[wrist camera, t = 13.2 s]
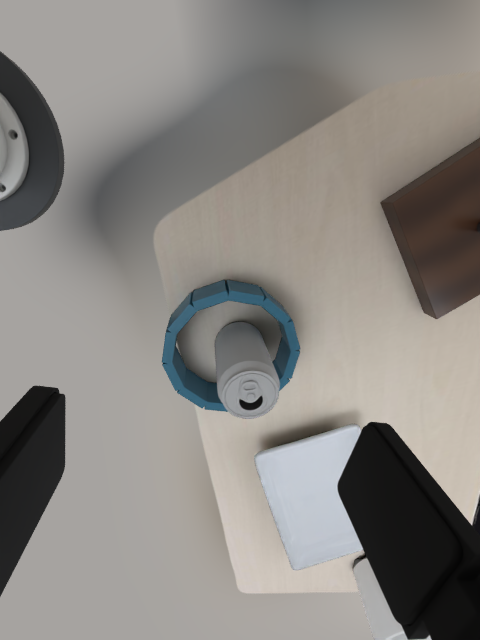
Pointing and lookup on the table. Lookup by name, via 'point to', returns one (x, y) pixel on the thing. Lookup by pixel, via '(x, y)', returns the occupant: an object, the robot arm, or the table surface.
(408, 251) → the platform
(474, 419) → the table surface
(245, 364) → the beverage can
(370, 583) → the cup
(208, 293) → the ring
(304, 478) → the tray
